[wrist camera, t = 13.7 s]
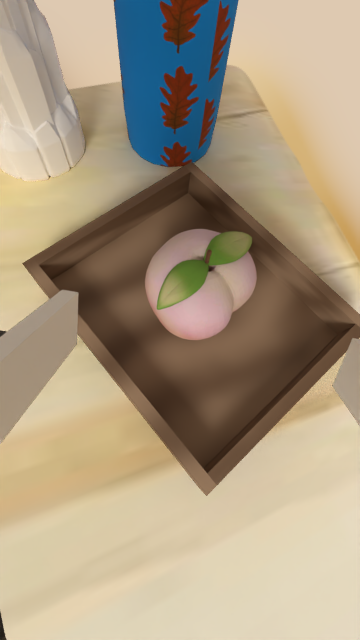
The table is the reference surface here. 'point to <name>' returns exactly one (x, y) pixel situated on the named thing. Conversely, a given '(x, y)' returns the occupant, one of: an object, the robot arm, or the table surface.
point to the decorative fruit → (200, 281)
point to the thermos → (173, 74)
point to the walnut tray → (207, 354)
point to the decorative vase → (34, 98)
